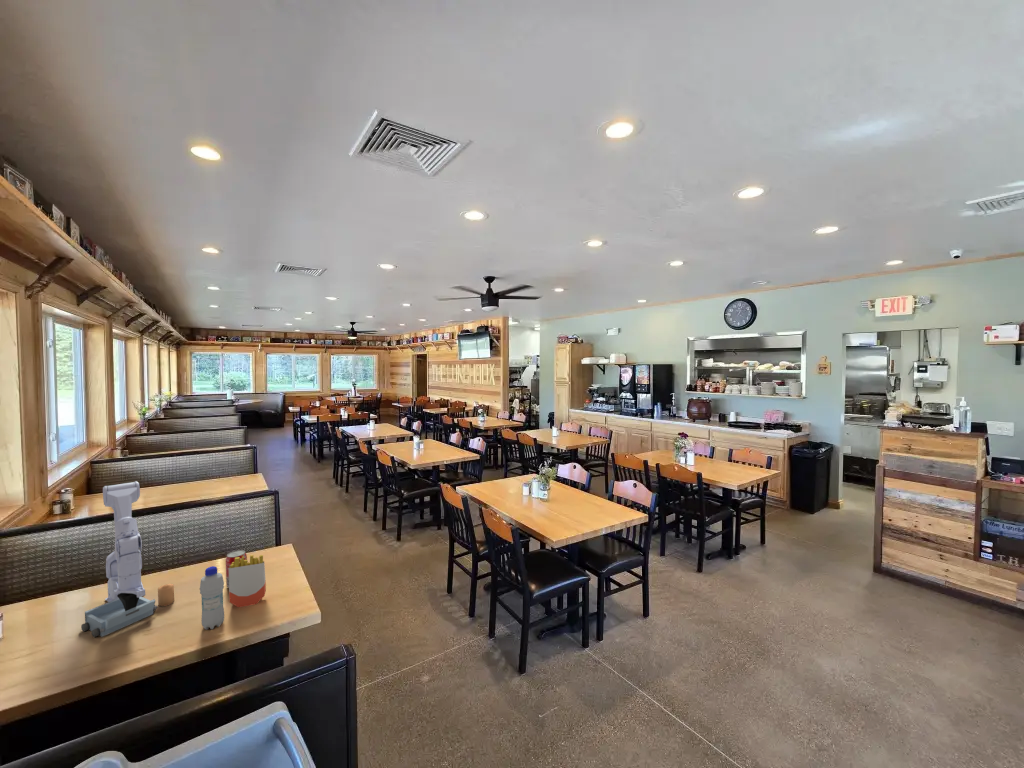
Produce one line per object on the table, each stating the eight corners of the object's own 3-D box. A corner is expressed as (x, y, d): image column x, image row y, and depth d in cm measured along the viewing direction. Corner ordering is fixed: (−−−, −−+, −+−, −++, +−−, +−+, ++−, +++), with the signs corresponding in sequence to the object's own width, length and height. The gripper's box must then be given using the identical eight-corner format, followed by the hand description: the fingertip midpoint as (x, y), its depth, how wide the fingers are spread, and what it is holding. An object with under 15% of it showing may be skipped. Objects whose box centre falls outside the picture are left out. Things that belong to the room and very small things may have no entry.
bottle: (199, 634, 141) (197, 573, 140) (202, 623, 147) (200, 565, 146) (224, 628, 144) (222, 569, 143) (226, 617, 150) (224, 560, 149)
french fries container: (232, 602, 159) (230, 554, 158) (266, 596, 163) (264, 549, 163) (229, 609, 155) (228, 559, 154) (264, 602, 159) (263, 554, 158)
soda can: (237, 591, 167) (236, 558, 167) (221, 589, 169) (220, 556, 168) (252, 582, 174) (251, 550, 174) (236, 580, 176) (235, 548, 175)
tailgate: (104, 628, 139) (107, 618, 138) (151, 607, 151) (154, 599, 150) (106, 630, 139) (108, 620, 138) (153, 609, 151) (155, 601, 150)
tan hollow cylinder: (155, 604, 158) (154, 586, 158) (170, 598, 162) (169, 580, 162) (162, 607, 156) (162, 589, 156) (177, 601, 160) (176, 583, 160)
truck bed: (80, 629, 143) (79, 613, 142) (140, 604, 158) (140, 589, 157) (99, 640, 137) (98, 623, 137) (159, 613, 152) (159, 597, 152)
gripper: (103, 573, 143) (104, 613, 144) (125, 582, 137) (127, 624, 138) (129, 564, 150) (130, 603, 150) (152, 573, 143) (153, 613, 144)
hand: (131, 612), depth 144 cm, fingers closed, pressing on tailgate
